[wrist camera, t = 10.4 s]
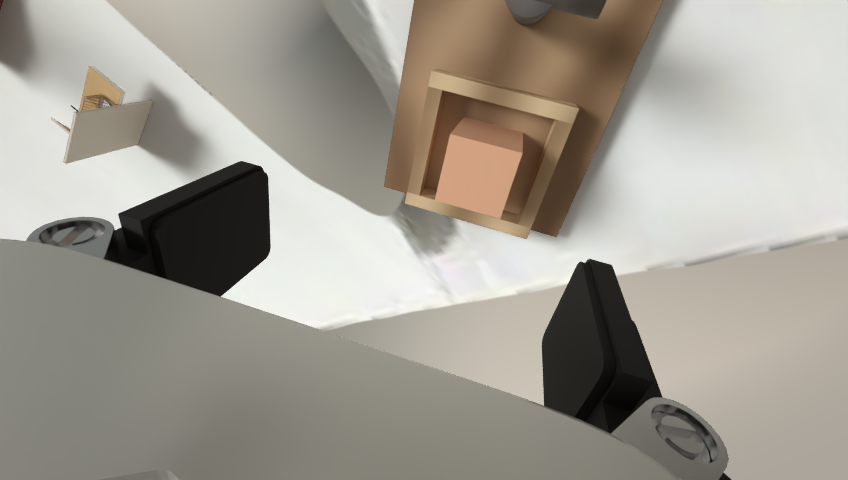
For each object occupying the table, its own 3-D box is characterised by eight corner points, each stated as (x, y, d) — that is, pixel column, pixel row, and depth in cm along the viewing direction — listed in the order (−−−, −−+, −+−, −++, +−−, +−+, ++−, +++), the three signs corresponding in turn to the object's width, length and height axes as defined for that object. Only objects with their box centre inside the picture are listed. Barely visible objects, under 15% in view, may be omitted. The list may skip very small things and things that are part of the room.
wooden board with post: (728, -161, 20) (936, -367, 10) (555, 230, 32) (569, 316, 22) (453, -209, 21) (392, -429, 11) (388, 182, 33) (330, 241, 23)
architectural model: (113, 121, 38) (28, 137, 31) (129, 64, 34) (39, 69, 28) (141, 144, 38) (65, 165, 32) (161, 90, 35) (79, 101, 28)
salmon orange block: (522, 132, 27) (522, 152, 22) (504, 188, 30) (500, 218, 25) (463, 116, 28) (450, 134, 23) (450, 173, 30) (434, 200, 25)
